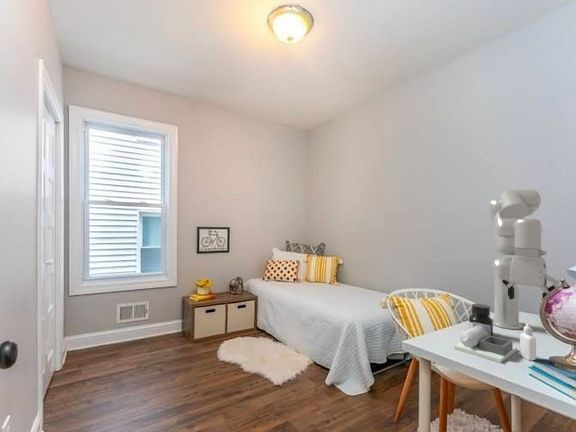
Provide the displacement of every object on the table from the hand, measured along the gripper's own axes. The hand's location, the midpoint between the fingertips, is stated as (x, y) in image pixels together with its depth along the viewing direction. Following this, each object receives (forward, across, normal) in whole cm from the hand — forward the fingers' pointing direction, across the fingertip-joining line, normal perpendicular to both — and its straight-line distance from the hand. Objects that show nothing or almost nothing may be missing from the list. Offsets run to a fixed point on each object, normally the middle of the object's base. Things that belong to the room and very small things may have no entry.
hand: (527, 301), depth 111 cm
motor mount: (+20, +12, +4) cm, 24 cm away
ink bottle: (+20, +20, -14) cm, 32 cm away
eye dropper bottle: (+20, 0, 0) cm, 20 cm away
